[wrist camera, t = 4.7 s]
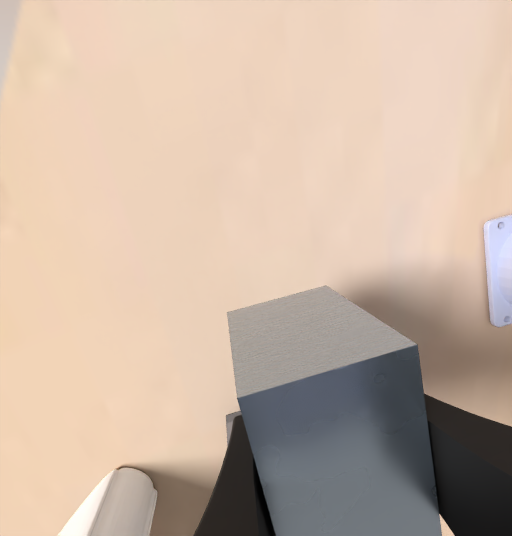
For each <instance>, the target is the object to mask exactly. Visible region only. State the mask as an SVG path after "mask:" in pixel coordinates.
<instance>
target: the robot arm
mask: <svg viewBox="0 0 512 536" xmlns="http://www.w3.org/2000/svg"><path fill="white" fill-rule="evenodd" d="M498 224H499V227H498ZM484 242H485V256H486V269H487V283H488V297H489V310H490V322H491V324H492V325H494V326H496V327H502V326H505V325H508V324H512V214H510V215H507V216H503V217H499V218H495V219H492V220H489V221H487V222H486V223H485V225H484ZM504 317H505V318H504ZM424 399H425V407H426V415H427V423H428V431H429V438H430V446H431V454H432V462H433V470H434V477H435V485H436V493H437V501H438V509H439V514H440V515H441V516H442V518H443V519H444V520H445V522H446V523H447V525H448V526H449V528H450V529H451V531H452V532H453V534H454V535H455V536H512V427H511V426H508V425H504V424H501V423H498V422H495V421H492V420H489V419H486V418H483V417H480V416H477V415H475V414H472V413H469V412H467V411H464V410H461V409H459V408H456V407H454V406H451V405H449V404H447V403H444V402H442V401H440V400H437V399H435V398H433V397H430V396H428V395H426V394H424ZM193 536H276V534H275V531H274V527H273V524H272V520H271V517H270V513H269V509H268V506H267V502H266V499H265V495H264V492H263V488H262V485H261V481H260V477H259V474H258V470H257V467H256V463H255V460H254V456H253V453H252V449H251V445H250V442H249V438H248V435H247V431H246V428H245V424H244V421H243V417H242V415H239V416H235V418H234V419H233V425H232V431H231V435H230V440H229V444H228V448H227V451H226V454H225V458H224V461H223V465H222V468H221V471H220V474H219V476H218V479H217V482H216V485H215V488H214V490H213V493H212V495H211V498H210V500H209V503H208V505H207V508H206V510H205V512H204V514H203V517H202V519H201V521H200V523H199V525H198V527H197V529H196V531H195V533H194V535H193Z"/></svg>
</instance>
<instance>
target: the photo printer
mask: <svg viewBox="0 0 512 536" xmlns="http://www.w3.org/2000/svg"><path fill="white" fill-rule="evenodd" d="M156 501H157V490H155V489H154V488H153V482H152V481H151V479H150V478H149V477H148V476H147V475H146V474H145V473H143V472H142V471H140V470H137V469H133V468H121V469H119V470H116V469H114V470H112V471H111V472H110V473H109V474H108V475H107V476H106V477H104V479H103V480H102V481H101V482H100V483H99V484H98V485H97V486H96V487H95V489H94V490H93V491H92V492H91V494H90V495H89V496H88V497H87V498H86V500H85V501H84V502H83V503H82V504H81V506H80V507H79V508H78V510H77V511H76V512H75V513H74V515H73V516H72V517H71V518H70V520H69V521H68V522H67V524H66V525H65V526H64V528H63V529H62V530H61V532H60V533H59V534H58V536H149V535H150V530H151V525H152V520H153V516H154V511H155V506H156Z"/></svg>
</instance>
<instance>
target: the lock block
mask: <svg viewBox="0 0 512 536" xmlns="http://www.w3.org/2000/svg"><path fill="white" fill-rule="evenodd" d="M227 317H228V325H229V333H230V342H231V350H232V359H233V367H234V375H235V384H236V392H237V399H238V403H239V406H240V410H241V413H242V417H243V421H244V424H245V428H246V431H247V435H248V438H249V442H250V445H251V449H252V453H253V456H254V460H255V463H256V467H257V470H258V474H259V477H260V481H261V485H262V488H263V492H264V495H265V499H266V502H267V506H268V509H269V513H270V517H271V520H272V524H273V527H274V531H275V534H276V536H442V532H441V524H440V516H439V509H438V501H437V493H436V485H435V477H434V470H433V462H432V454H431V446H430V438H429V431H428V423H427V415H426V407H425V399H424V392H423V384H422V376H421V368H420V360H419V353H418V345H417V344H416V343H415V342H413V341H411V340H410V339H408V338H407V337H405V336H404V335H402V334H401V333H399V332H398V331H396V330H394V329H393V328H391V327H390V326H388V325H387V324H385V323H384V322H382V321H380V320H379V319H377V318H376V317H374V316H373V315H371V314H370V313H368V312H366V311H365V310H363V309H362V308H360V307H359V306H357V305H356V304H354V303H353V302H351V301H349V300H348V299H346V298H345V297H343V296H342V295H340V294H339V293H337V292H335V291H334V290H332V289H331V288H329V287H328V286H323V287H319V288H315V289H312V290H308V291H304V292H300V293H297V294H293V295H289V296H286V297H282V298H278V299H275V300H271V301H267V302H264V303H260V304H256V305H253V306H249V307H245V308H242V309H238V310H234V311H230V312H227Z"/></svg>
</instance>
